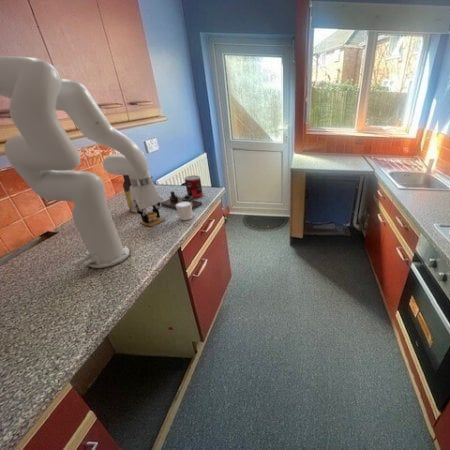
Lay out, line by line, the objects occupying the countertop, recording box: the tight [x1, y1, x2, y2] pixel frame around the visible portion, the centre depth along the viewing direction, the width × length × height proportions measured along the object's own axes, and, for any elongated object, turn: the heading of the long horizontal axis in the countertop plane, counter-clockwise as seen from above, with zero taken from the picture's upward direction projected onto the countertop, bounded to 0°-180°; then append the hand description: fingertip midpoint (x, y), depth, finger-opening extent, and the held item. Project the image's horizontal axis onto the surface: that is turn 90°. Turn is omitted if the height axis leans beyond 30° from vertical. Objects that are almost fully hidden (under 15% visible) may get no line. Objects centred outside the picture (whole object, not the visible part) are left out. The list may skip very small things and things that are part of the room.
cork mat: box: [140, 217, 165, 227], centre depth 114 cm, size 7×7×1 cm
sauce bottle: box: [122, 175, 139, 212], centre depth 120 cm, size 6×6×20 cm
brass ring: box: [146, 211, 157, 219], centre depth 112 cm, size 5×5×1 cm
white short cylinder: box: [175, 201, 193, 221], centre depth 117 cm, size 7×7×7 cm
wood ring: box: [181, 196, 194, 202], centre depth 127 cm, size 5×5×1 cm
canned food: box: [184, 174, 204, 199], centre depth 140 cm, size 8×8×11 cm
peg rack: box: [160, 190, 203, 211], centre depth 130 cm, size 10×18×6 cm, turn 67°
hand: (151, 219), depth 113 cm, fingers closed on brass ring, 4 cm apart
